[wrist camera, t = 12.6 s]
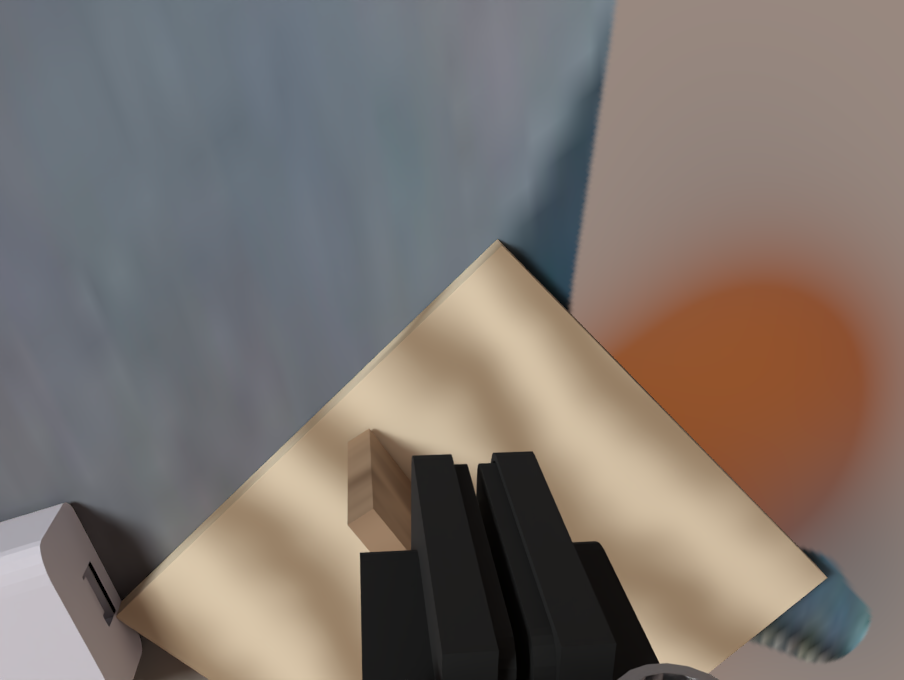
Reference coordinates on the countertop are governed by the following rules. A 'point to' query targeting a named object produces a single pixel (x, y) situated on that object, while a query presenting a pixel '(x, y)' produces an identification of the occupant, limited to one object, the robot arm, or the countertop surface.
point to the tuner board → (472, 442)
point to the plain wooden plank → (377, 496)
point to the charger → (59, 604)
